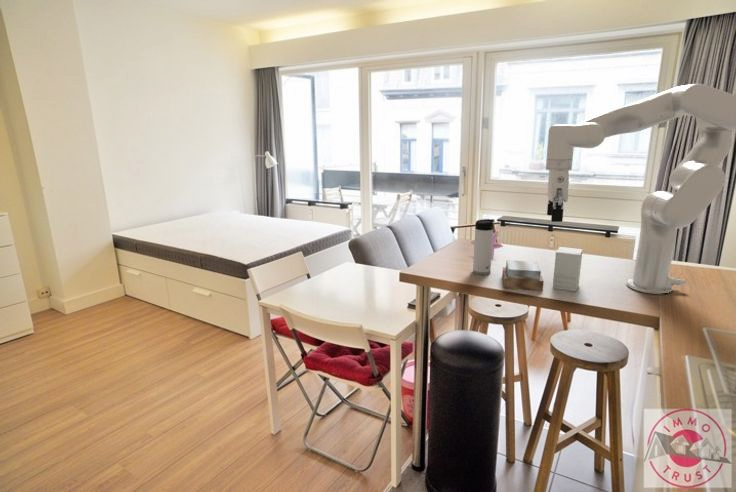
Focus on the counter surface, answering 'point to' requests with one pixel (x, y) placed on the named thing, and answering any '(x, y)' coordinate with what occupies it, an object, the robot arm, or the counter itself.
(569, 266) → the supplement box
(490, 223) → the travel mug
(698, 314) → the counter surface
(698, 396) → the counter surface
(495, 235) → the lily
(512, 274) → the brown napkin holder
